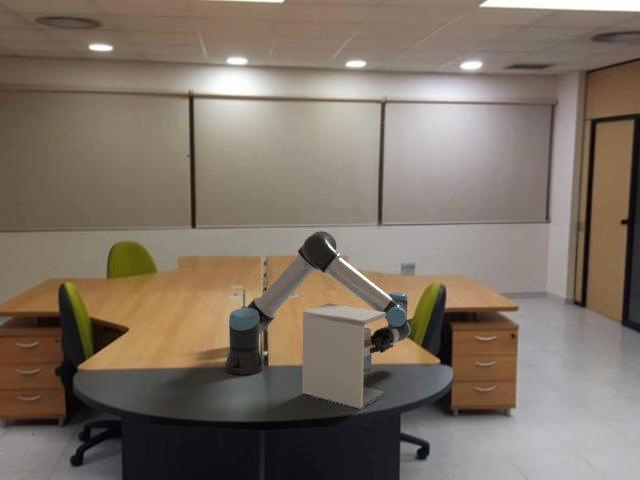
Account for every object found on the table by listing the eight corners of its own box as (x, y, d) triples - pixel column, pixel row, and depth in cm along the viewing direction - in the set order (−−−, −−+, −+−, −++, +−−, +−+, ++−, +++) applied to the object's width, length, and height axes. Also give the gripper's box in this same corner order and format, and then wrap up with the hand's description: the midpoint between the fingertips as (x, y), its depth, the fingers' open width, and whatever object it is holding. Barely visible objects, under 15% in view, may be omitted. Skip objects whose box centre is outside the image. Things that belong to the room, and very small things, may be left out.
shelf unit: (360, 410, 203) (362, 321, 200) (302, 394, 217) (302, 311, 213) (384, 395, 216) (386, 312, 213) (327, 382, 230) (328, 303, 227)
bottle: (351, 366, 228) (352, 326, 226) (370, 366, 228) (371, 327, 226) (352, 372, 221) (353, 331, 219) (371, 372, 221) (372, 332, 219)
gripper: (408, 350, 233) (379, 366, 214) (363, 342, 244) (331, 356, 225) (409, 331, 232) (379, 345, 213) (363, 323, 243) (331, 336, 224)
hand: (355, 350), depth 219 cm, fingers closed on bottle, 7 cm apart
